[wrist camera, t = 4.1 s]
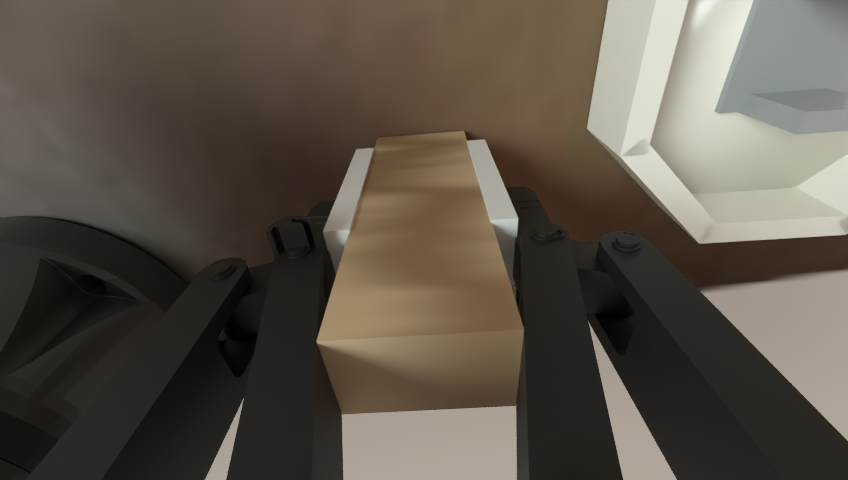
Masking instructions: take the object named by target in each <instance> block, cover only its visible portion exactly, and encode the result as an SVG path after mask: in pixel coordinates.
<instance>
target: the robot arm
mask: <svg viewBox="0 0 848 480" xmlns="http://www.w3.org/2000/svg"><path fill="white" fill-rule="evenodd" d="M467 145H468V148H469V152H470V155H471V158H472V162H473V165H474V168H475V172H476V175H477V178H478V182H479V185H480V188H481V192H482V195H483V198H484V202H485V205H486V209H487V212H488V215H489V219H490V222H491V223H492V225H493V228H494V231H495V235H496V238H497V241H498V245H499V248H500V251H501V254H502V258H503V261H504V264H505V268H506V271H507V274H508V278H509V281H510V284H511V288H512V291H513V283H514V282H515V285H516V288H517V290H516V304H517V307H518V311H519V314H520V317H521V321H522V324H523V327H524V336H523V345H522V355H521V364H520V373H519V383H518V392H517V401H516V409H517V410H516V412H517V480H623V477H622V473H621V468H620V464H619V459H618V455H617V450H616V445H615V441H614V437H613V432H612V427H611V423H610V418H609V414H608V409H607V405H606V400H605V396H604V391H603V387H602V382H601V378H600V373H599V368H598V364H597V359H596V355H595V351H594V346H593V341H592V337H591V332H590V328H589V324H588V321H589V323H590V325H591V327H592V328H593V330H594V332H595V334H596V335H597V337H598V339H599V341H600V342H601V344H602V346H603V348H604V350H605V352H606V353H607V355H608V357H609V359H610V361H611V362H612V364H613V366H614V368H615V370H616V371H617V373H618V375H619V377H620V378H621V380H622V382H623V384H624V386H625V387H626V389H627V391H628V393H629V395H630V396H631V398H632V400H633V402H634V403H635V405H636V407H637V409H638V411H639V412H640V414H641V416H642V418H643V420H644V421H645V423H646V425H647V427H648V428H649V430H650V432H651V434H652V436H653V437H654V439H655V441H656V443H657V445H658V446H659V448H660V450H661V452H662V454H663V455H664V457H665V459H666V461H667V463H668V464H669V466H670V468H671V470H672V471H673V473H674V475H675V477H676V479H677V480H848V441H847V440H846V439H845V438H844V437H843V436H842V435H841V434H840V433H839V432H838V431H837V430H836V429H835V428H834V427H833V426H832V425H831V424H830V423H829V422H828V421H827V420H826V419H825V418H824V417H823V416H822V415H821V414H820V413H819V412H818V410H817V409H815V407H814V406H813V405H812V404H811V403H810V402H809V401H808V400H807V399H806V398H805V397H804V396H803V395H802V394H801V393H800V392H799V391H798V390H797V389H796V388H795V387H794V386H793V385H792V384H791V383H790V382H789V381H788V380H787V379H786V378H785V377H784V376H783V375H782V374H781V373H780V372H779V371H778V370H777V369H776V368H775V367H774V366H773V365H772V364H771V363H770V362H769V361H768V360H767V359H766V358H765V357H764V356H763V355H762V354H761V353H760V352H759V351H758V350H757V349H756V348H755V347H754V346H753V345H752V344H751V343H750V342H749V341H748V340H747V339H746V338H745V337H744V336H743V335H742V333H741V332H739V330H738V329H737V328H736V327H734V325H733V324H732V323H731V322H730V321H729V320H728V319H727V318H726V317H725V316H724V315H722V313H721V312H720V311H719V310H718V309H717V308H716V307H715V306H714V305H713V304H712V303H711V302H710V301H709V300H708V299H707V298H706V297H705V296H704V295H703V294H702V293H701V292H700V291H699V290H698V289H697V288H696V287H695V286H694V285H693V284H692V283H691V282H690V281H689V280H688V279H687V278H686V277H685V276H684V275H683V274H682V273H681V272H680V271H679V270H678V269H677V268H676V267H675V266H674V265H673V264H672V263H671V261H670V260H669V259H668V258H667V257H666V256H665V255H664V254H663V253H662V252H661V251H660V250H659V249H658V248H657V247H656V246H655V245H654V244H653V243H652V242H651V241H649V240H648V239H646V238H645V237H643V236H641V235H638V234H636V233H633V232H629V231H612V232H607V233H605V234H604V235H602V236H601V239H600V242H599V244H592V243H584V242H578V241H574V240H571V239H570V237H569V235H568V233H567V231H566V230H564V229H563V228H561V227H559V226H557V225H554V224H552V223H551V221H550V219H549V217H548V216H547V214H546V212H545V210H544V208H543V207H542V205H541V203H540V201H539V200H538V198H537V196H536V194H535V193H534V192H533V191H531V190H530V189H528V188H527V187H512V188H505V186H504V183H503V181H502V179H501V176H500V174H499V171H498V169H497V167H496V164H495V162H494V160H493V157H492V155H491V153H490V150H489V148H488V146H487V143H486V141H485V139H482V140H469V141H467ZM373 152H374V148H365V149H356V151H355V154H354V156H353V159H352V161H351V163H350V166H349V168H348V171H347V173H346V176H345V178H344V181H343V183H342V186H341V188H340V191H339V193H338V195H337V198H336V200H335V201H331V202H320V203H318V204H317V205H316V206H315V207H313V208H312V209H311V210H310V212H309V214H308V216H307V217H303V216H295V217H289V218H285V219H282V220H280V221H278V222H276V223H274V224H273V225H271V226H270V227H269V228H268V230H267V231H266V233H267V236H268V239H269V241H270V244H271V247H272V249H273V252H274V255H275V258H274V262H271V263H268V264H265V265H261V266H257V267H254V268H250V269H249V268H248V266H247V264H246V262H245V261H244V260H243V259H241V258H227V259H221V260H218V261H216V262H213V263H212V264H210V265H209V266H207V267H205V268H204V269H203V270H202V271H201V272H200V273H199V274H198V275H197V276H196V277H195V279H194V280H193V281H192V282H191V283H190V285H189V286H188V285H187V284H186V283H184V282H183V281H182V280H181V279H180V278H179V277H178V276H177V275H176V274H174V273H173V272H172V271H171V270H169V269H168V268H167V267H166V266H164V265H163V264H161V263H160V262H158V261H157V260H156V259H154V258H152V257H151V256H149V255H148V254H146V253H144V252H143V251H141V250H139V249H137V248H135V247H133V246H132V245H130V244H128V243H126V242H123V241H121V240H119V239H117V238H115V237H112V236H110V235H107V234H105V233H102V232H100V231H97V230H94V229H91V228H88V227H84V226H81V225H77V224H73V223H69V222H65V221H60V220H55V219H48V218H39V217H6V218H0V480H205V478H206V476H207V474H208V472H209V470H210V468H211V465H212V463H213V461H214V459H215V457H216V455H217V453H218V451H219V448H220V446H221V444H222V442H223V440H224V438H225V436H226V434H227V432H228V430H229V428H230V425H231V423H232V421H233V419H234V417H235V415H236V413H237V411H238V408H239V406H240V404H241V402H242V400H243V398H244V401H243V406H242V410H241V415H240V419H239V424H238V429H237V433H236V438H235V442H234V447H233V452H232V456H231V461H230V466H229V470H228V475H227V479H226V480H343V455H342V453H343V452H342V414H341V410H340V407H339V404H338V401H337V398H336V395H335V393H334V390H333V387H332V384H331V381H330V378H329V376H328V373H327V370H326V367H325V364H324V361H323V359H322V356H321V353H320V350H319V347H318V344H317V342H316V341H317V338H318V334H319V331H320V328H321V324H322V321H323V318H324V314H325V311H326V308H327V304H328V301H329V298H330V294H331V291H332V288H333V284H334V281H335V278H336V274H337V271H338V268H339V264H340V261H341V258H342V254H343V251H344V248H345V244H346V241H347V238H348V234H349V233H350V231H351V227H352V224H353V221H354V217H355V214H356V210H357V207H358V204H359V200H360V197H361V193H362V190H363V186H364V183H365V180H366V176H367V173H368V169H369V166H370V163H371V159H372V156H373ZM222 329H223V331H224V333H223V334H222V336H221V337H220V339H219V335H220V333H221V330H222ZM218 339H219V340H218Z"/></svg>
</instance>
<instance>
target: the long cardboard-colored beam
mask: <svg viewBox="0 0 848 480" xmlns="http://www.w3.org/2000/svg"><path fill="white" fill-rule="evenodd" d="M523 336H524V327H523V324H522V321H521V317H520V314H519V311H518V307H517V304H516V301H515V297H514V294H513V291H512V288H511V284H510V281H509V278H508V274H507V271H506V268H505V264H504V261H503V258H502V254H501V251H500V248H499V245H498V241H497V238H496V235H495V231H494V228H493V225H492V223H491V222H490V219H489V215H488V212H487V209H486V205H485V202H484V198H483V195H482V192H481V188H480V185H479V182H478V178H477V175H476V172H475V168H474V165H473V162H472V158H471V155H470V152H469V148H468V145H467V139H466V135H465V132H464V131H455V132H442V133H429V134H416V135H403V136H391V137H378V138H377V141H376V144H375V147H374V152H373V156H372V159H371V163H370V166H369V169H368V173H367V176H366V180H365V183H364V186H363V190H362V193H361V197H360V200H359V204H358V207H357V210H356V214H355V217H354V221H353V224H352V227H351V231H350V233H349V234H348V238H347V241H346V244H345V248H344V251H343V254H342V258H341V261H340V264H339V268H338V271H337V274H336V278H335V281H334V284H333V288H332V291H331V294H330V298H329V301H328V304H327V308H326V311H325V314H324V318H323V321H322V324H321V328H320V331H319V334H318V338H317V341H316V342H317V344H318V347H319V350H320V353H321V356H322V359H323V361H324V364H325V367H326V370H327V373H328V376H329V378H330V381H331V384H332V387H333V390H334V393H335V395H336V398H337V401H338V404H339V407H340V410H341V412H342V414H355V413H374V412H375V413H376V412H393V411H394V412H396V411H414V410H415V411H417V410H437V409H456V408H478V407H497V406H516V401H517V392H518V383H519V373H520V364H521V355H522V345H523Z"/></svg>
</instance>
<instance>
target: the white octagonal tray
mask: <svg viewBox="0 0 848 480" xmlns="http://www.w3.org/2000/svg"><path fill="white" fill-rule="evenodd" d="M587 129H588V130H589V132H590V133H591V134H592V135H593V136H594V137H595V138H596V139H597V140H598V141H599V142H600V143H601V145H602V146H603V147H604V148H605V149H606V150H607V151H608V152H609V153H610V154H611V155H612V156H613V158H614V159H615V160H616V161H617V162H618V163H619V164H620V165H621V166H622V167H623V168H624V169H625V171H626V172H627V173H628V174H629V175H630V176H631V177H632V178H633V179H634V180H635V181H636V182H637V184H638V185H639V186H640V187H641V188H642V189H643V190H644V191H645V192H646V193H647V194H648V195H649V197H650V198H651V199H652V200H653V201H654V202H655V203H656V204H657V205H658V206H659V207H660V208H661V209H662V210H663V211H664V212H665V213H666V214H668V215H669V216H670V217H671V218H672V219H673V220H674V221H675V222H676V223H677V224H678V225H680V226H681V227H682V228H683V229H684V230H685V231H686V232H687V233H688V234H689V235H690V236H691V237H693V238H694V239H695V240H696V241H697V242H698V243H699V244H704V243H720V242H736V241H752V240H769V239H785V238H801V237H817V236H834V235H846V234H848V0H608V6H607V12H606V18H605V24H604V30H603V36H602V42H601V48H600V54H599V60H598V66H597V71H596V77H595V83H594V89H593V95H592V101H591V107H590V113H589V119H588V125H587Z"/></svg>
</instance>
